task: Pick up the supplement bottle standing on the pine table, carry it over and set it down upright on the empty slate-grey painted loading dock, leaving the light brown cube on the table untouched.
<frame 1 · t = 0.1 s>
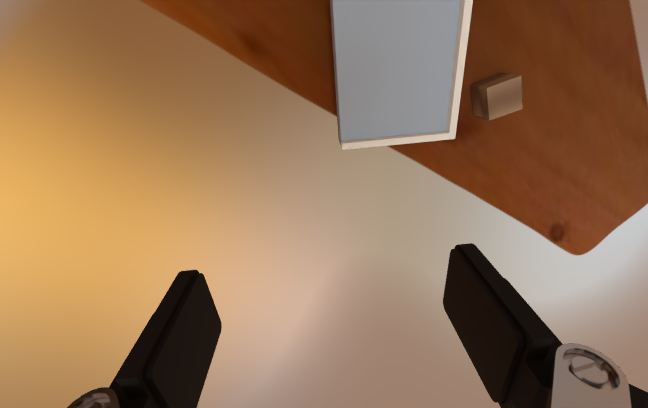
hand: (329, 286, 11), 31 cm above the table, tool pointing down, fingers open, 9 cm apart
light brown cube: (486, 94, 38), on the table
dock: (390, 62, 36), on the table
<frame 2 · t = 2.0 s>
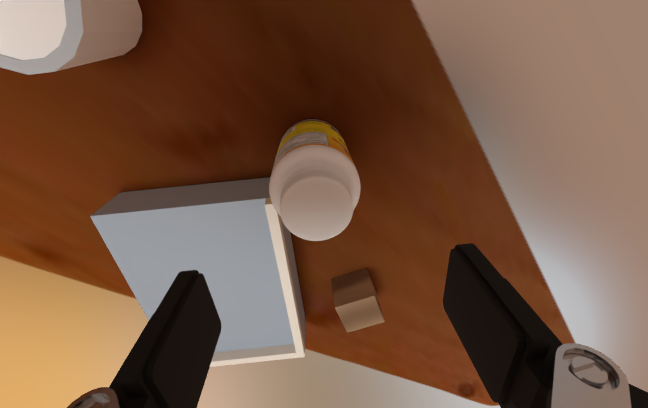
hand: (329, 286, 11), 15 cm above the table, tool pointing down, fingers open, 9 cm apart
supplement bottle: (312, 149, 24), on the table
light brown cube: (354, 285, 32), on the table
shot glass: (98, 8, 19), on the table
dock: (226, 263, 29), on the table
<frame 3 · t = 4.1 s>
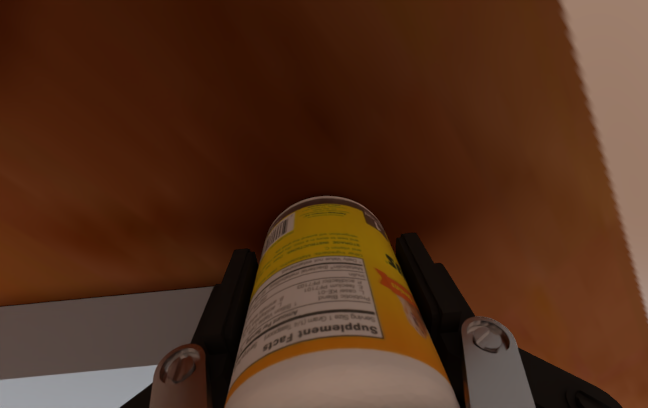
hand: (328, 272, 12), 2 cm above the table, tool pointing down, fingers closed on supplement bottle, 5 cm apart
supplement bottle: (325, 240, 14), on the table, touching gripper
dock: (186, 395, 19), on the table
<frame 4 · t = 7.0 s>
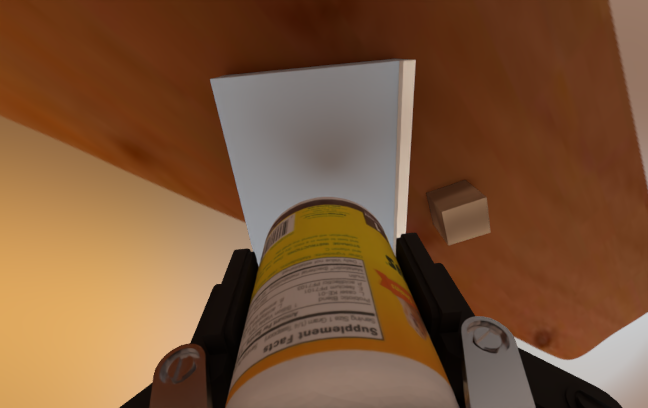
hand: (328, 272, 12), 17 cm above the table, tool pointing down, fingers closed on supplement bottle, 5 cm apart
supplement bottle: (325, 241, 14), point 15 cm above the table, touching gripper
light brown cube: (448, 202, 30), on the table
dock: (320, 170, 28), on the table
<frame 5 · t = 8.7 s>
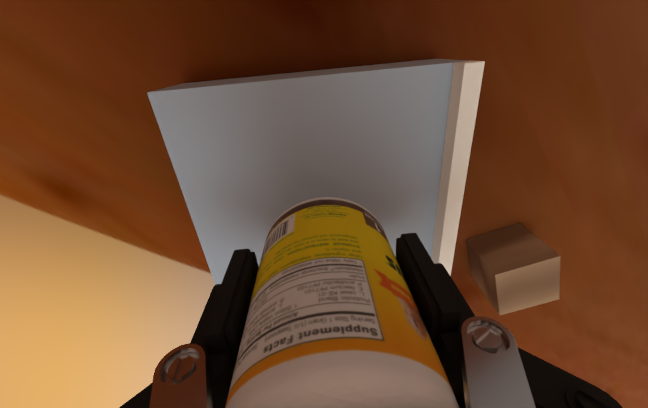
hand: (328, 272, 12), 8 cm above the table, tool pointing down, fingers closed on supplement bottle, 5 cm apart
supplement bottle: (325, 241, 14), point 6 cm above the table, touching gripper
light brown cube: (494, 250, 22), on the table
dock: (323, 212, 20), on the table
when the fingers open (7 cm above the table, at t = 10.0 s): supplement bottle stays where it is, resting on dock.
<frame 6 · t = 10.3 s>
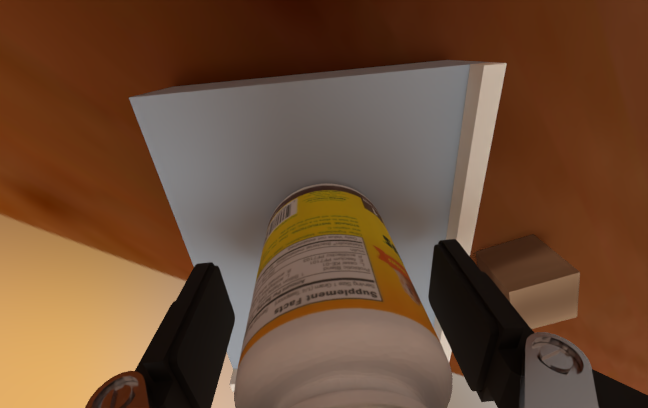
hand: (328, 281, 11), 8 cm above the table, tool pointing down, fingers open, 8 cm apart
supplement bottle: (324, 227, 14), point 4 cm above the table, touching dock
light brown cube: (505, 263, 21), on the table
dock: (324, 223, 19), on the table
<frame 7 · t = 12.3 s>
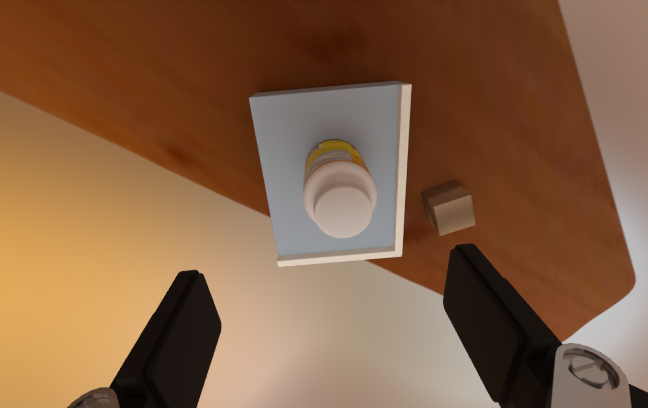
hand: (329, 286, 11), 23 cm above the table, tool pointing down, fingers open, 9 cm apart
supplement bottle: (333, 164, 28), point 4 cm above the table, touching dock
light brown cube: (440, 200, 35), on the table
dock: (332, 171, 33), on the table
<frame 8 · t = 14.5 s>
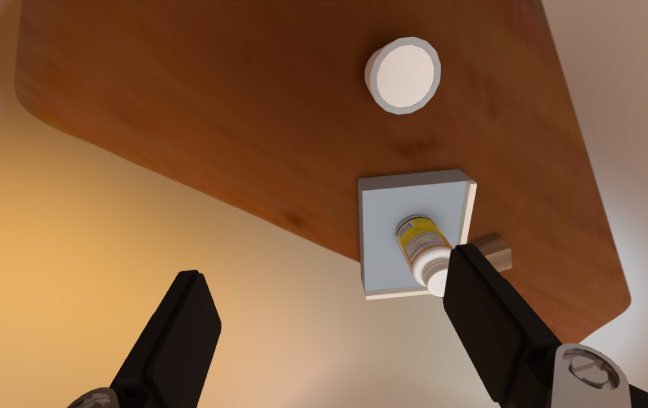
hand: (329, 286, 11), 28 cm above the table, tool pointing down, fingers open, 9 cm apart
supplement bottle: (413, 230, 39), point 4 cm above the table, touching dock
light brown cube: (483, 246, 46), on the table
shot glass: (387, 73, 34), on the table
dock: (405, 228, 44), on the table
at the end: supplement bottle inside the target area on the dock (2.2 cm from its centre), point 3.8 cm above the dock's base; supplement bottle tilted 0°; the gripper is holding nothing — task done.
